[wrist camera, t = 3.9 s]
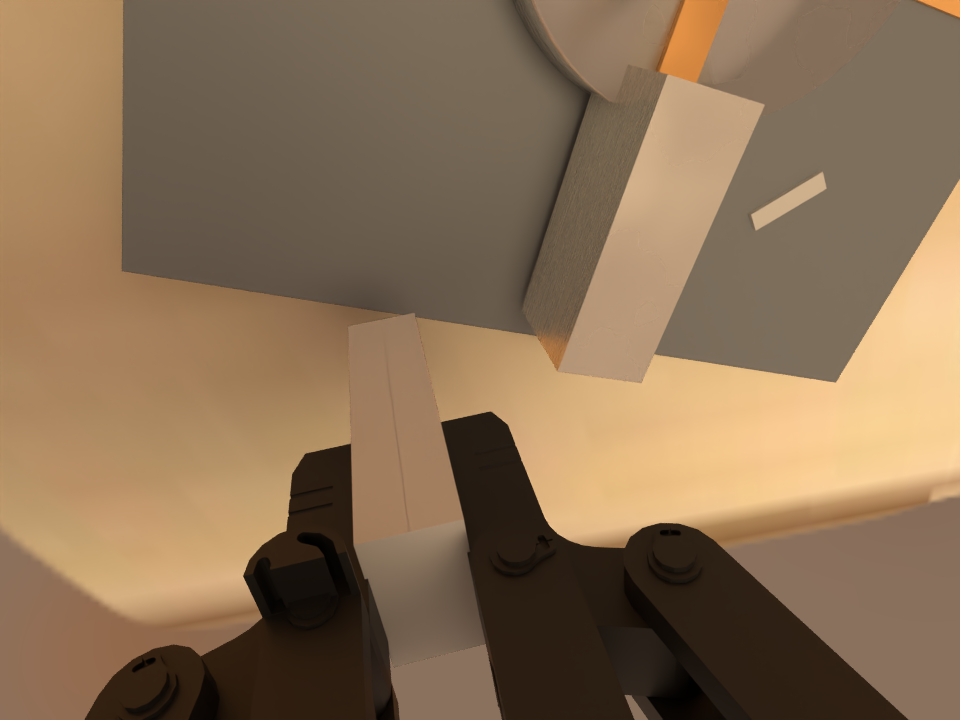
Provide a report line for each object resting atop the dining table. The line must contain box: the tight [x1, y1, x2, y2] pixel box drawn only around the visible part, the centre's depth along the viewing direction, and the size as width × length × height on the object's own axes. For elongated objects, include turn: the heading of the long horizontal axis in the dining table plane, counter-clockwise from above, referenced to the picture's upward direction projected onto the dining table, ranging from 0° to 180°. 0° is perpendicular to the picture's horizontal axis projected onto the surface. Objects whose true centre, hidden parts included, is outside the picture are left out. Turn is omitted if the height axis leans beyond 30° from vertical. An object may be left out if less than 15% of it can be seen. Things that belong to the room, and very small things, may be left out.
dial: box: [514, 0, 900, 383], centre depth 14 cm, size 16×10×4 cm, turn 164°
